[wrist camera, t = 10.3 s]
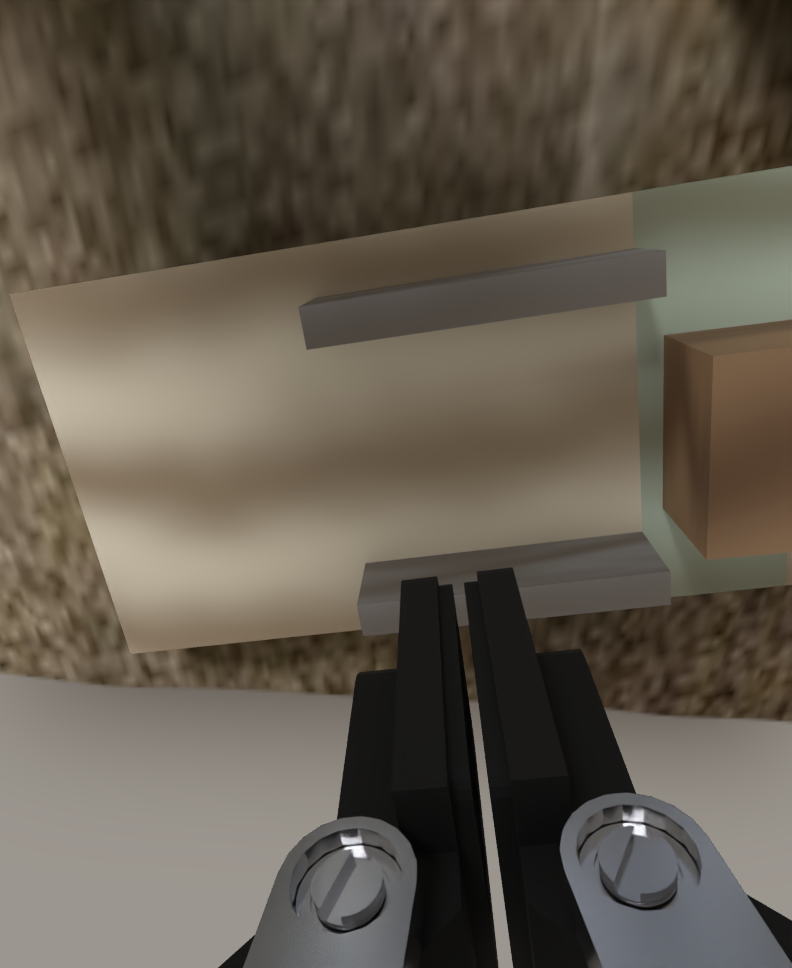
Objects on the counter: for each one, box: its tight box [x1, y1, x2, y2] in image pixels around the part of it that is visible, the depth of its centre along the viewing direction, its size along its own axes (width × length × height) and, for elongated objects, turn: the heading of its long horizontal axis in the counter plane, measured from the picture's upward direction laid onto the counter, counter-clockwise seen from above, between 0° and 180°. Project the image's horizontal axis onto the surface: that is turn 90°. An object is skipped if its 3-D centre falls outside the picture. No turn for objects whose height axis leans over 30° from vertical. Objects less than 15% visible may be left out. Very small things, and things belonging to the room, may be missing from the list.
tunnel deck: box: [9, 166, 792, 654], centre depth 22 cm, size 14×36×6 cm, turn 99°
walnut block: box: [663, 320, 792, 560], centre depth 20 cm, size 6×6×4 cm
